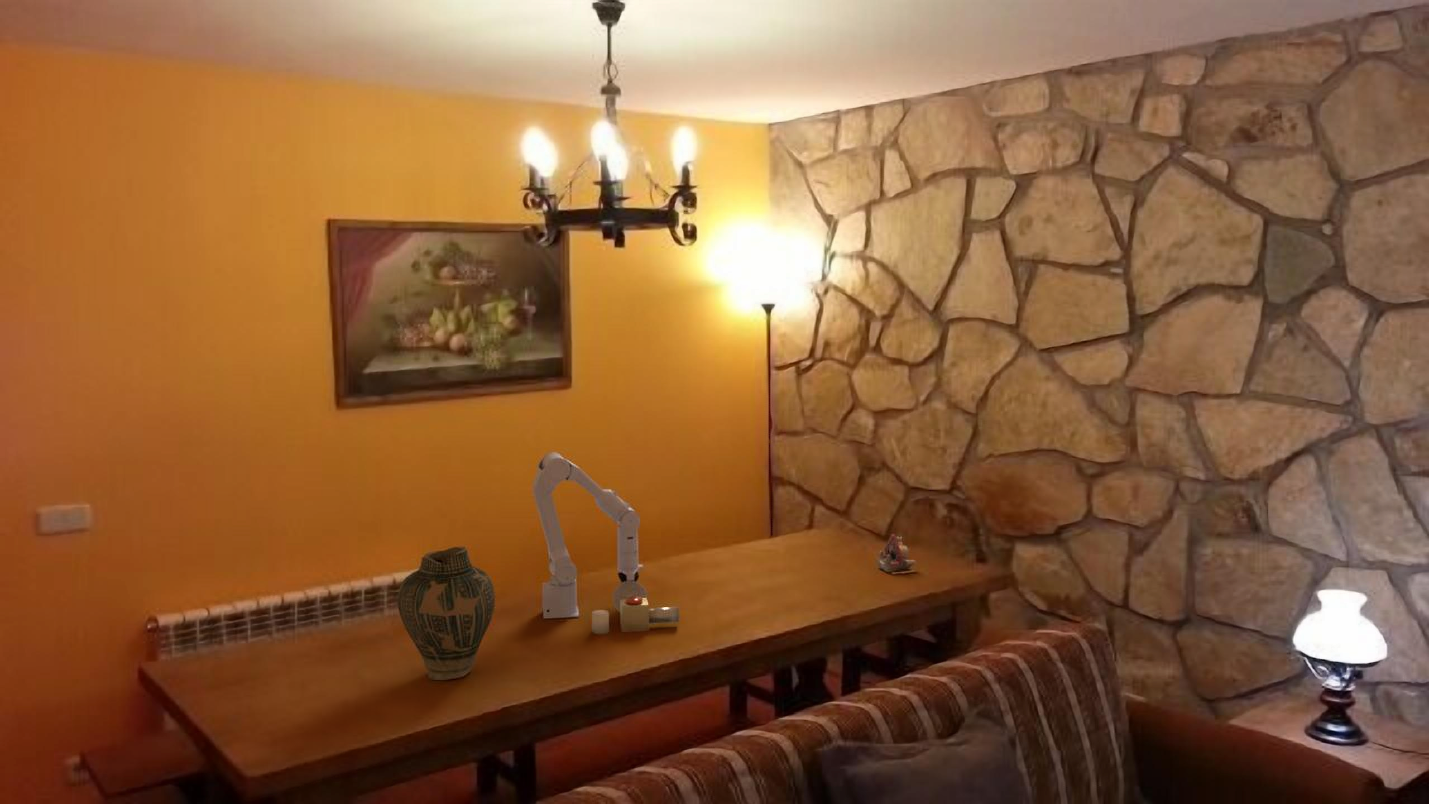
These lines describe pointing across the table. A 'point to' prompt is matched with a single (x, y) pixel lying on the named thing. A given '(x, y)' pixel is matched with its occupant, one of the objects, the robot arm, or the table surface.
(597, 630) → the pvc coupling
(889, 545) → the grey pink figurine
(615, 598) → the showerhead
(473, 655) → the vase
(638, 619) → the beige red button device
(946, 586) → the table surface
